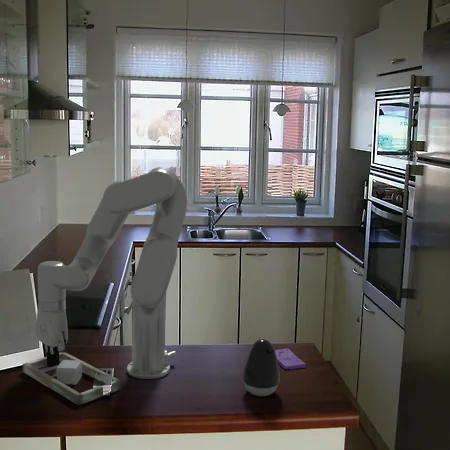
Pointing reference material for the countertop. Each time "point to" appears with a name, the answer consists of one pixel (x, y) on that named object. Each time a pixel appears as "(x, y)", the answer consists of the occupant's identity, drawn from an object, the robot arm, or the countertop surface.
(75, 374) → the small box
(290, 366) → the sponges
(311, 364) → the countertop surface
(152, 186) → the robot arm
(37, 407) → the countertop surface
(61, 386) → the rectangular open frame tray
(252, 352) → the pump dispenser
